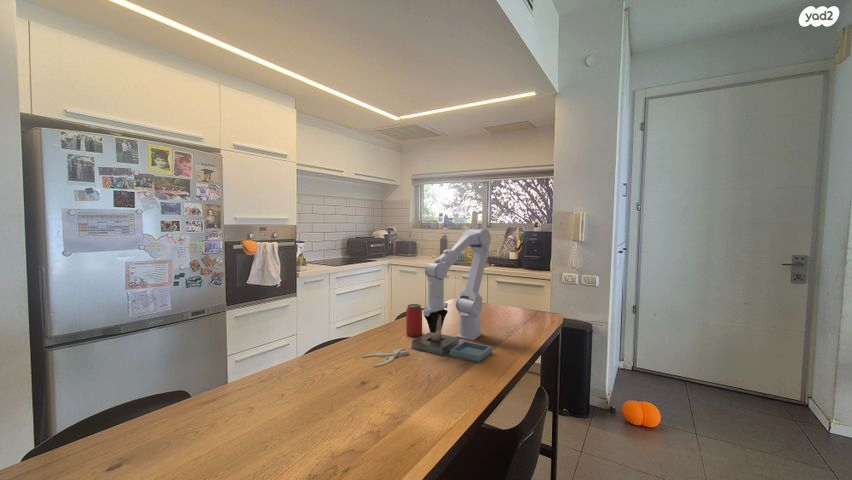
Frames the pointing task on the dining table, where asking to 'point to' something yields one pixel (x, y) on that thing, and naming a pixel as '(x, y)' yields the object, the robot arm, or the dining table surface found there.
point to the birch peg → (437, 331)
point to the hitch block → (435, 344)
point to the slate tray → (471, 351)
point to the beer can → (414, 320)
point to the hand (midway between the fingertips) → (435, 330)
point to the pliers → (393, 355)
